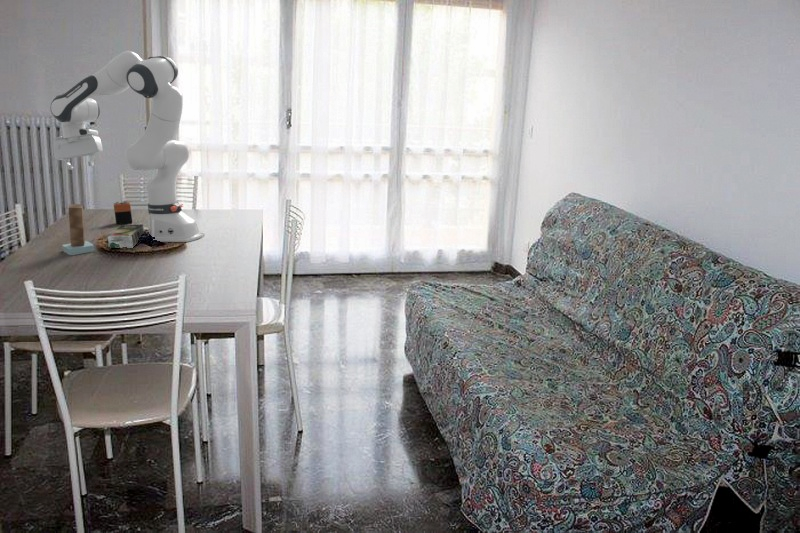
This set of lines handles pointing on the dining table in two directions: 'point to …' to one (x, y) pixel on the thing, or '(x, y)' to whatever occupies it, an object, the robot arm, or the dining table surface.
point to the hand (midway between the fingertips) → (81, 167)
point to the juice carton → (125, 236)
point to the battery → (122, 213)
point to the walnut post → (76, 225)
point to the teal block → (78, 248)
